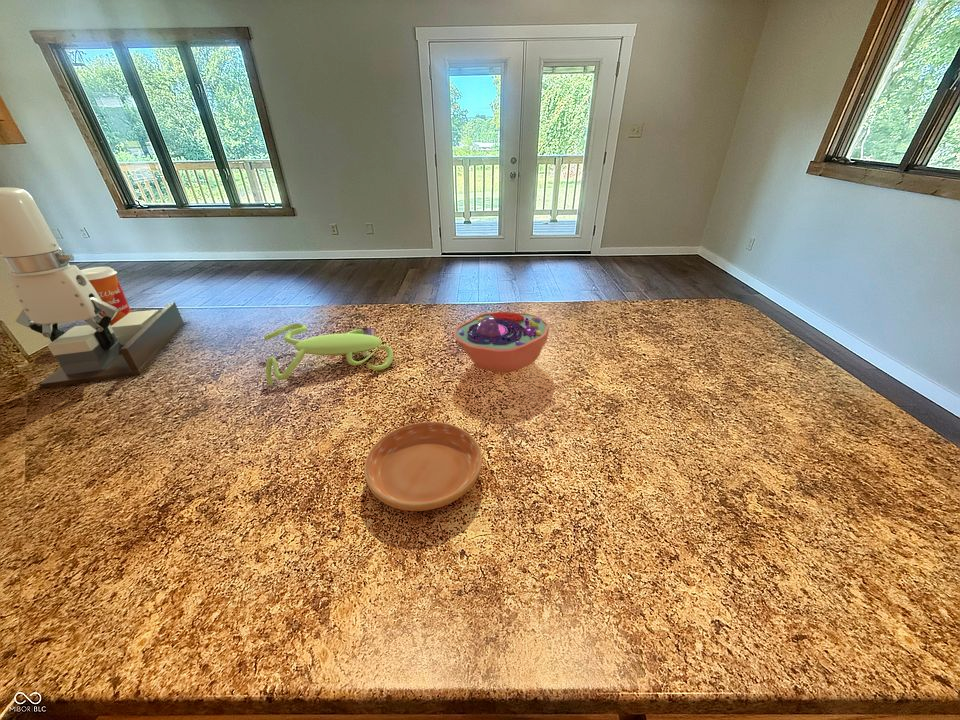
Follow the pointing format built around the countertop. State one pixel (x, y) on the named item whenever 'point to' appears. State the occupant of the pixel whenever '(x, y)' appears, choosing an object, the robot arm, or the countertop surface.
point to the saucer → (423, 466)
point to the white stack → (132, 324)
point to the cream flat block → (76, 340)
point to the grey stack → (89, 359)
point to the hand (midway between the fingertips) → (88, 348)
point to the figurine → (328, 347)
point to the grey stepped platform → (129, 351)
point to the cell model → (502, 340)
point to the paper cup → (108, 290)
